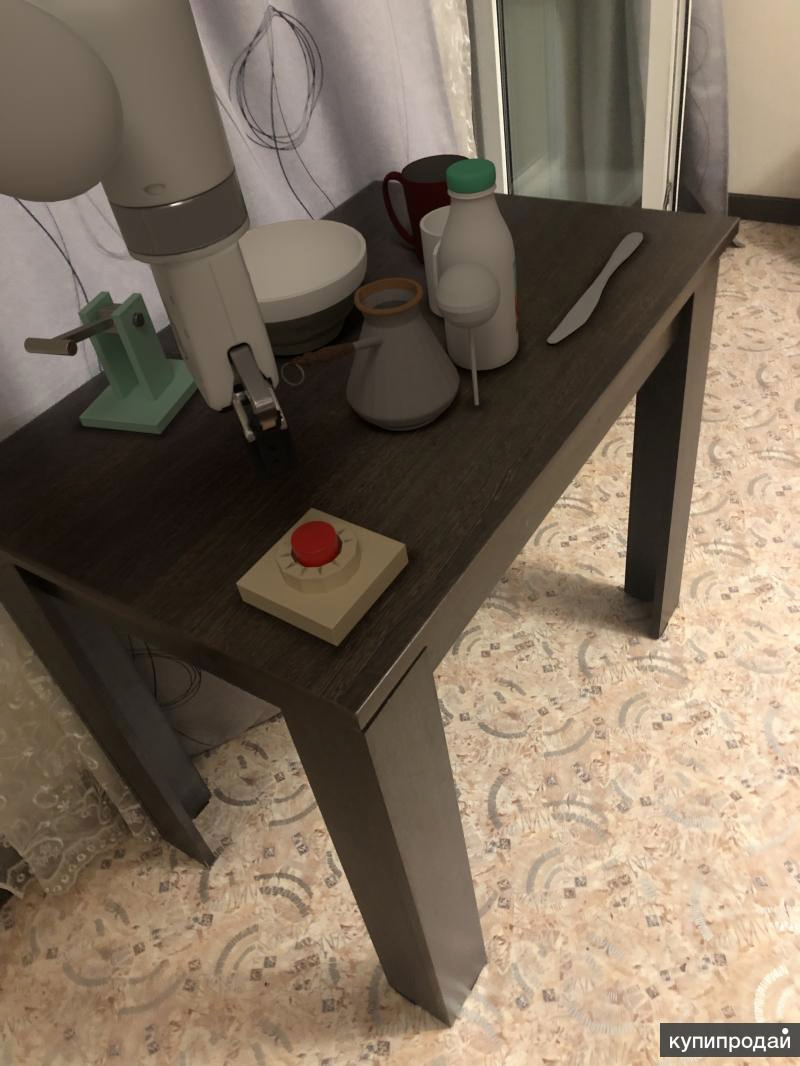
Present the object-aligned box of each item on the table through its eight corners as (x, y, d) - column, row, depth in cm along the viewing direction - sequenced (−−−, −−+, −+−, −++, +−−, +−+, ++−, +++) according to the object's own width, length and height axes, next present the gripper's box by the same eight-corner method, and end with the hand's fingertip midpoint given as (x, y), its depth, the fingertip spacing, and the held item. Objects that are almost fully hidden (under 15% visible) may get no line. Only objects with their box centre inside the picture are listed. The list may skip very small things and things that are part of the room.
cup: (408, 333, 94) (396, 251, 87) (442, 282, 102) (434, 202, 95) (475, 339, 91) (469, 255, 84) (506, 286, 99) (502, 205, 92)
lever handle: (70, 363, 76) (64, 337, 75) (27, 359, 77) (20, 334, 76) (146, 327, 86) (142, 304, 84) (107, 325, 87) (102, 302, 86)
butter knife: (653, 233, 102) (630, 229, 103) (565, 346, 87) (539, 339, 89) (652, 237, 103) (629, 233, 104) (565, 350, 88) (539, 344, 89)
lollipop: (488, 427, 80) (478, 287, 69) (436, 414, 82) (419, 277, 72) (516, 393, 83) (510, 253, 73) (465, 381, 86) (453, 245, 75)
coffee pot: (386, 368, 89) (363, 237, 79) (480, 387, 84) (470, 250, 74) (273, 489, 77) (230, 353, 67) (377, 520, 72) (347, 378, 62)
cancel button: (321, 574, 63) (316, 558, 62) (286, 558, 65) (281, 543, 64) (348, 544, 65) (344, 529, 64) (314, 530, 67) (309, 515, 66)
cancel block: (337, 647, 63) (327, 613, 60) (242, 600, 67) (229, 568, 65) (408, 562, 68) (402, 528, 65) (316, 525, 73) (307, 492, 70)
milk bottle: (515, 372, 86) (508, 180, 72) (443, 373, 87) (422, 185, 73) (521, 333, 91) (515, 147, 77) (453, 334, 93) (435, 153, 79)
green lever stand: (160, 434, 86) (119, 336, 78) (82, 426, 89) (35, 331, 81) (212, 370, 94) (179, 275, 86) (139, 365, 97) (101, 272, 89)
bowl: (288, 280, 108) (271, 209, 101) (410, 308, 98) (400, 231, 92) (184, 356, 97) (157, 283, 90) (310, 395, 88) (290, 316, 81)
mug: (380, 267, 107) (366, 182, 99) (404, 236, 113) (393, 154, 105) (467, 271, 103) (460, 183, 95) (487, 239, 108) (482, 154, 101)
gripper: (95, 186, 53) (180, 400, 65) (152, 289, 41) (244, 527, 53) (203, 153, 55) (267, 367, 67) (288, 242, 43) (348, 483, 55)
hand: (257, 438), depth 60 cm, fingers open, 9 cm apart
